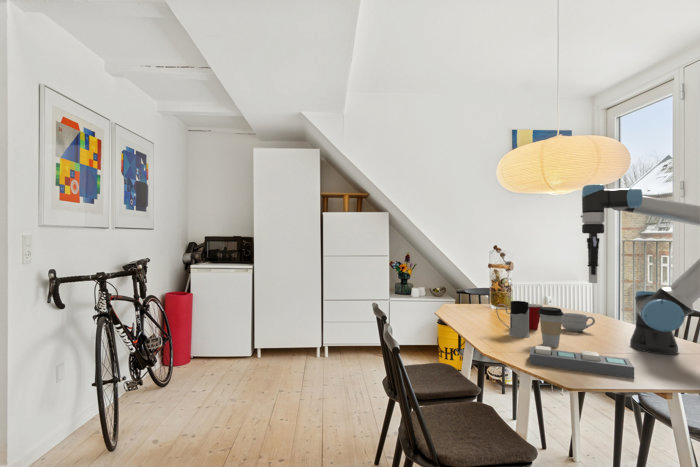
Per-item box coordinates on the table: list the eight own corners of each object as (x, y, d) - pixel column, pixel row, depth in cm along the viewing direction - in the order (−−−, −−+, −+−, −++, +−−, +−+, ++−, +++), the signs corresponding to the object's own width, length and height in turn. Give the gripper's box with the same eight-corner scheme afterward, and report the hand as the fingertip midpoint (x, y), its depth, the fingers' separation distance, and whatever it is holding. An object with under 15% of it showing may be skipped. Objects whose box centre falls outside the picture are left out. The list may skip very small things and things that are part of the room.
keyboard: (628, 368, 133) (628, 358, 133) (634, 378, 124) (634, 367, 124) (530, 356, 146) (530, 347, 146) (529, 364, 137) (529, 354, 137)
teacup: (557, 330, 187) (557, 313, 188) (565, 327, 195) (565, 310, 195) (590, 336, 178) (590, 318, 178) (597, 332, 185) (597, 315, 185)
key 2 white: (597, 359, 135) (597, 352, 135) (599, 363, 130) (599, 356, 130) (581, 357, 137) (581, 350, 137) (582, 361, 132) (582, 354, 132)
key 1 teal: (623, 366, 131) (623, 359, 131) (625, 371, 127) (625, 363, 127) (606, 364, 133) (606, 357, 134) (608, 369, 129) (608, 361, 129)
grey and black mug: (531, 338, 172) (531, 304, 172) (497, 336, 176) (497, 302, 176) (528, 333, 181) (528, 301, 181) (495, 331, 184) (495, 299, 185)
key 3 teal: (573, 360, 138) (573, 353, 138) (574, 364, 133) (574, 357, 133) (558, 358, 140) (558, 352, 140) (558, 362, 135) (558, 355, 136)
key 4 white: (550, 353, 141) (550, 347, 141) (550, 357, 137) (550, 350, 137) (535, 351, 143) (535, 345, 143) (535, 355, 139) (535, 348, 139)
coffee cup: (566, 349, 156) (566, 311, 156) (541, 347, 158) (541, 310, 158) (559, 342, 166) (559, 307, 166) (535, 341, 167) (535, 306, 168)
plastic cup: (534, 326, 197) (534, 302, 197) (548, 331, 186) (548, 305, 186) (514, 326, 195) (514, 302, 195) (526, 331, 184) (527, 306, 185)
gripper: (580, 224, 164) (580, 280, 164) (583, 223, 152) (583, 284, 152) (601, 224, 161) (601, 281, 161) (606, 222, 149) (606, 285, 149)
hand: (592, 282), depth 156 cm, fingers closed
